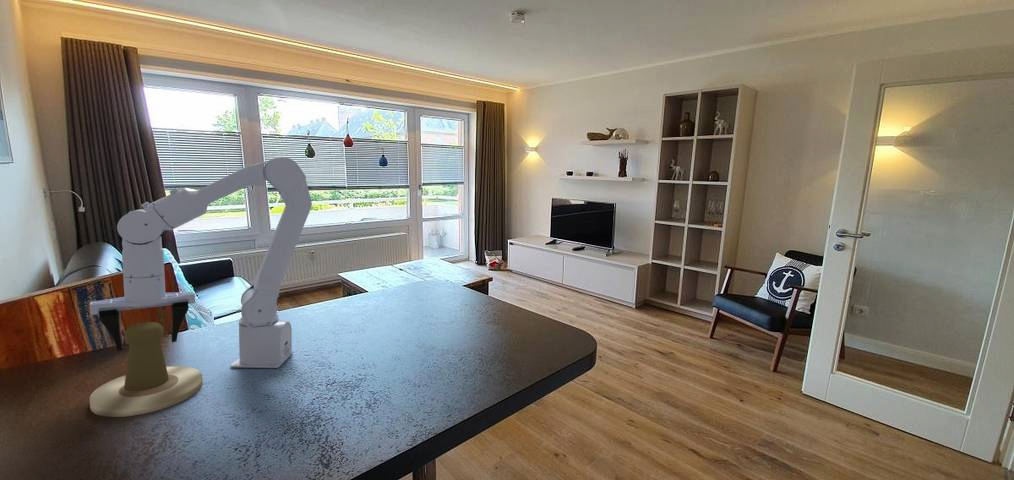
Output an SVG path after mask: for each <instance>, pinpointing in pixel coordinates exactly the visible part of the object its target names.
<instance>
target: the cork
mask: <svg viewBox="0 0 1014 480" xmlns="http://www.w3.org/2000/svg"><path fill="white" fill-rule="evenodd" d="M164 333H165V331H164V327H163V325H162V324H161V323H160V322H157V321H156V322H155V321H144V322H138V323H135V324H131V325H130V326H129V327H127V328H126V330H125V331H124V340H125V341H124V342H125V343H127V344H128V345H129V346H128V347H129V348H128V354H127V363H126V370H125V375H126V377H125V385H124V389H125V390H128V391H143V390H148V389H152V388H155V387H158V386H160V385H163V384H164V383H166V382H167V381H168V380H169V377H168V372H167V368H166V367H167V364H166V360H165V355H164V352H163V346H162V342H161V339H163V337H164Z"/></svg>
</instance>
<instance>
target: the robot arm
mask: <svg viewBox="0 0 1014 480" xmlns="http://www.w3.org/2000/svg"><path fill="white" fill-rule="evenodd" d="M267 182H268V183H269V184H270V185H271V186H272V187H273V188H274V189H275V190H276V191H277V192H278V194H279V196H280V199H282V201H283V203H284V209H283V211H282V214H281V215H280V219H279V220H278V223H277V226H276V228H275V231H274V232H273V236H272V238H271V240H270V243H269V245H268V248H267V250H266V252H265V255H264V257H263V260H262V263H261V265H260V267H259V270H258V272H257V274H256V276H255V277H254V278H253V280H252V283H251V284H250V286H249V287H248V288H247V289H246V290H244V292H243V293H242V295H241V297H240V304H241V312H240V313H241V317H240V318H239V319H238V338H239V339H238V342H239V345H238V347H239V348H238V349H239V358H237V359H236V360H235V361H233V362H232V363H231V364H230V368H240V369H242V368H246V369H247V368H248V369H249V368H250V369H251V368H257V369H262V368H263V369H278V368H280V367H281V366H282V365H283V364H284V363H285V361H287V360H288V358H289V357H291V355H292V354H293V353H294V351H293V349H292V347H293V344H292V343H293V340H292V339H293V336H292V335H293V334H292V333H293V330H292V324H291V322H290V321H287V320H282V319H280V318H279V315H278V314H277V313H278V305H277V300H278V297H279V295H280V291H281V285H282V281H283V279H284V276H285V273H286V271H287V268H288V266H289V264H290V261H291V259H292V256H293V254H294V251H295V249H296V247H297V244H298V242H299V239H300V236H301V234H302V232H303V229H304V227H305V223H306V221H307V219H308V216H309V214H310V211H311V210H312V205H313V203H312V199H311V195H310V191H309V187H308V183H307V182H308V181H307V176H306V174H305V172H304V171H303V170H302V168H301V167H300V166H299V164H298V163H297V162H296V161H295V160H294V159H292V158H291V157H290V158H289V157H286V156H278V157H273V158H271V159H270V160H268V161H262V162H259V163H255V164H252V165H247V166H245V167H243V168H241V169H239V170H236V171H235V172H233V173H231V174H228V175H227V176H224V177H222V178H220V179H217V180H216V181H214V182H212V183H210V184H208V185H205V186H204V187H202V188H200V189H193V188H190V187H189V188H188V187H184V188H181V189H179V188H178V187H176V188H173V189H171V190H169V191H168V193H169V195H166V196H163V197H161V198H159V199H157V200H155V201H152V202H151V203H150V202H148V201H146V202H144V203H141V207H142V208H143V209H141V208H140V209H135V210H131V211H128V213H126V214H124V215H123V216H121V218H120V219H119V220H118V222H117V226H116V230H117V233H118V235H119V236H120V237H121V238H122V239H121V240H122V241H121V246H122V251H121V258H122V259H121V260H122V261H121V263H122V275H123V293H124V296H122V297H121V296H120V297H115V298H108V299H101V300H94V301H90V303H89V313H90V316H93V315H94V316H95V315H98V319H99V321H100V323H101V324H102V325H103V326H104V328H106V330H107V331H108V333H109V334H110V335H111V337H112V340H113V342H114V344H115V348H116V351H117V352H119V351H123V347H124V345H123V337H122V330H121V315H120V311H130V310H137V309H138V310H139V309H147V308H154V307H155V308H156V307H163V306H164V307H165V306H170V308H171V311H170V312H171V330H170V332H171V333H170V335H171V342H172V343H175V342H177V339H178V335H179V334H178V333H179V330H180V327H181V325H182V322H183V320H184V318H185V316H186V315H187V313H188V311H189V307H190V306H189V305H191V304H195V303H196V293H195V291H185V292H184V291H183V292H182V291H181V292H179V291H178V292H166V279H165V278H166V276H165V261H164V260H165V259H164V258H165V255H164V254H165V253H164V248H163V244H162V243H163V241H162V239H163V238H162V236H161V235H162V234H163V233H164V231H173V230H175V229H177V228H179V227H181V226H183V225H185V224H187V223H189V222H191V221H194V220H195V219H197V218H199V217H201V216H203V215H206V213H207V210H208V206H209V204H211V203H214V202H216V201H219V200H221V199H223V198H225V197H228V196H229V195H232V194H234V193H236V192H239V191H241V190H243V189H246V188H247V187H255V186H257V187H267Z"/></svg>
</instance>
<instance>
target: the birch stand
mask: <svg viewBox="0 0 1014 480" xmlns="http://www.w3.org/2000/svg"><path fill="white" fill-rule="evenodd" d="M166 368H167V372H168V377H169V380H168V381H167V382H166V383H164V384H163V385H160V386H158V387H155V388H152V389H148V390H143V391H128V390H125V389H124V385H125V377H126V374H125V375H122V376H120V377H117V378H114V379H112V380H110V381H107V382H106V383H103V384H102V385H99V387H97V388H96V389H95V390H94V391H93V392H92V393H90V395H89V398H88V399H89V409H90V411H91V413H93V414H95V415H96V416H97V415H98V416H101V417H106V418H124V417H125V418H126V417H132V416H133V417H134V416H139V415H144V414H148V413H154V412H156V411H161V410H163V409H167V408H170V407H173V406H175V405H177V404H179V403H182V402H183V401H185V400H188V399H189V398H190V397H191V398H192V397H193V396H194V395H196V393H198V392H199V390H200V389H201V388H202V387H203V373H202V372H201V371H200V370H198V369H197V368H194V367H190V366H178V365H177V366H172V365H171V366H166Z"/></svg>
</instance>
